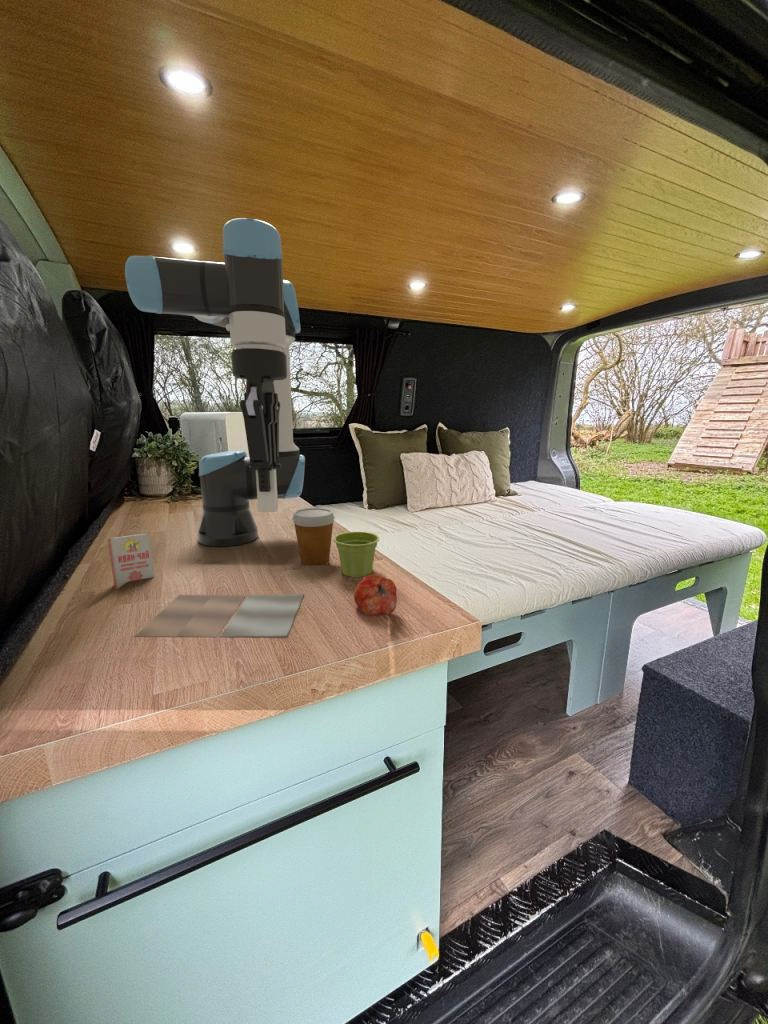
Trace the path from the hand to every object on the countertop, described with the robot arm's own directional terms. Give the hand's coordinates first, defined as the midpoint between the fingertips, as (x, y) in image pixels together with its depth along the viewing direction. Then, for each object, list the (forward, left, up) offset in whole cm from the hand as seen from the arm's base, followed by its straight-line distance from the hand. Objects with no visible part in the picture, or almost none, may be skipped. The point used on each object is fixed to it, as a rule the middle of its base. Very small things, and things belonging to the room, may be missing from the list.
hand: (268, 510), depth 64 cm
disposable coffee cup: (-26, +3, -19) cm, 32 cm away
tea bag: (-14, -31, -19) cm, 39 cm away
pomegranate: (-2, +17, -19) cm, 25 cm away
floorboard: (+1, -12, -19) cm, 23 cm away
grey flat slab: (+1, -1, -19) cm, 19 cm away
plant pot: (-18, +13, -19) cm, 29 cm away
